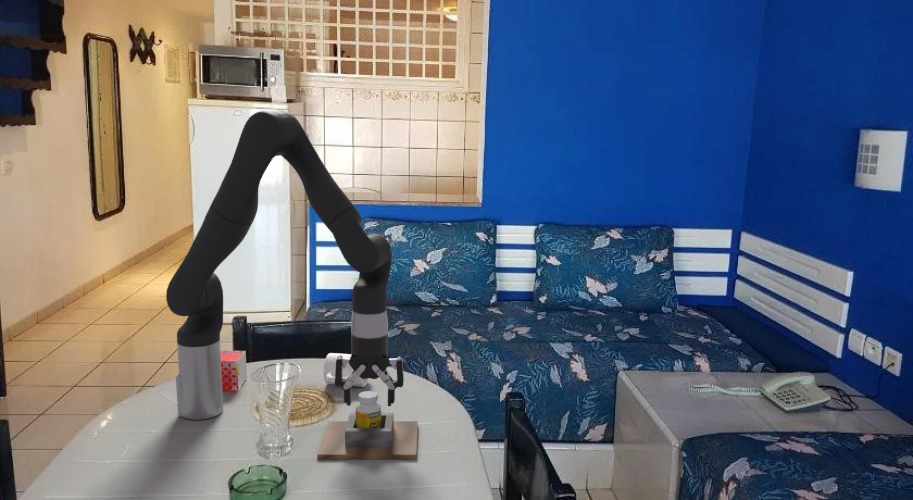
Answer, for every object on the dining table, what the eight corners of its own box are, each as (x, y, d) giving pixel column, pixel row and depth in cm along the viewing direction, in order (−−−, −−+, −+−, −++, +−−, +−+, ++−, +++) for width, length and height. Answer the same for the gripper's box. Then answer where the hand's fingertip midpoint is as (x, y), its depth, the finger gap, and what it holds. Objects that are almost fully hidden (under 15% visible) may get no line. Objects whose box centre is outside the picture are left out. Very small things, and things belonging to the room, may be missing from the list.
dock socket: (317, 459, 146) (316, 438, 145) (328, 425, 162) (328, 406, 161) (416, 459, 147) (416, 438, 146) (417, 425, 162) (417, 406, 162)
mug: (333, 377, 191) (332, 348, 189) (369, 380, 190) (369, 351, 188) (318, 394, 179) (317, 364, 178) (357, 397, 178) (357, 366, 176)
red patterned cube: (238, 391, 180) (237, 361, 179) (206, 391, 180) (205, 361, 179) (246, 379, 188) (245, 350, 187) (216, 379, 188) (214, 350, 187)
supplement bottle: (366, 429, 158) (366, 387, 156) (386, 435, 155) (386, 393, 153) (350, 438, 153) (350, 395, 151) (370, 444, 150) (369, 401, 149)
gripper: (332, 336, 146) (333, 411, 149) (403, 337, 146) (402, 412, 149) (337, 325, 153) (337, 397, 156) (404, 326, 154) (403, 398, 157)
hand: (369, 404), depth 153 cm, fingers open, 8 cm apart
